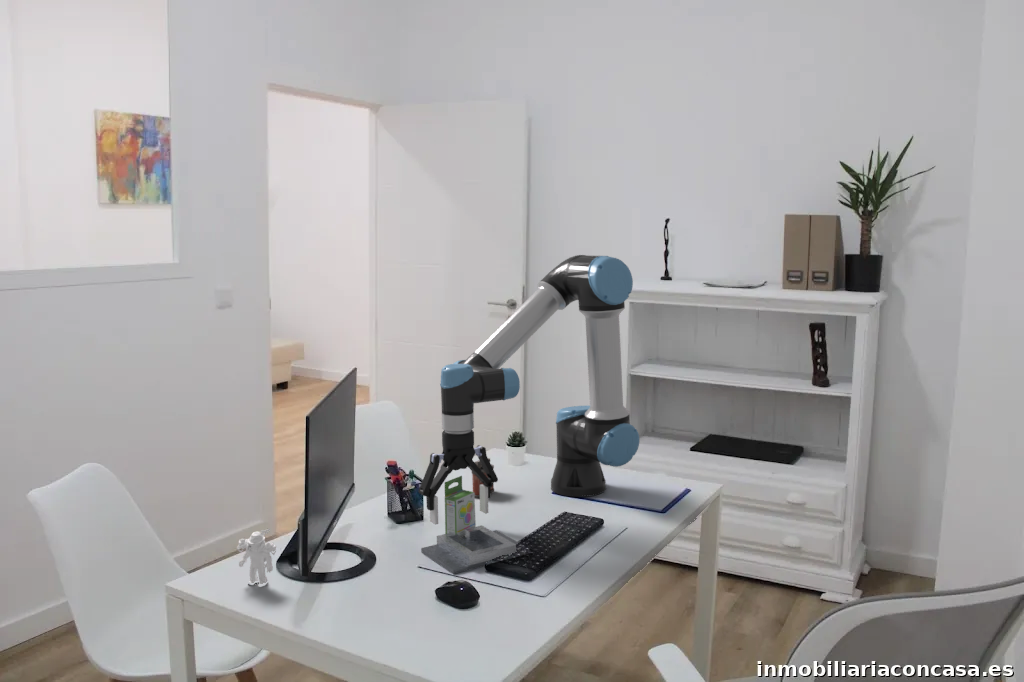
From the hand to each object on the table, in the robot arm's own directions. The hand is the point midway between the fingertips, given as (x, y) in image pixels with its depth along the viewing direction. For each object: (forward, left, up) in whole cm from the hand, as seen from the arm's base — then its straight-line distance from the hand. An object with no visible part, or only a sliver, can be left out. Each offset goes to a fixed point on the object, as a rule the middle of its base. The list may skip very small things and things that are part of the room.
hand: (459, 517), depth 211 cm
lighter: (-20, -23, -4) cm, 31 cm away
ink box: (0, 0, -4) cm, 4 cm away
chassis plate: (+3, +13, -4) cm, 13 cm away
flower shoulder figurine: (+49, +1, -4) cm, 49 cm away
